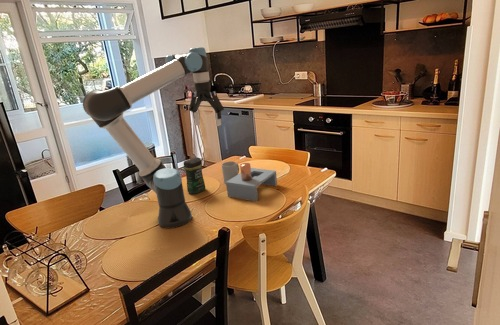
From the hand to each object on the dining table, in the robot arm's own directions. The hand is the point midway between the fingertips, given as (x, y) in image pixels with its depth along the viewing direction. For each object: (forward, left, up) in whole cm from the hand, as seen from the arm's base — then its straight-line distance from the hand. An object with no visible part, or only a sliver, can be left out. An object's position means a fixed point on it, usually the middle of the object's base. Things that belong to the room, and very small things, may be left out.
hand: (208, 125), depth 167 cm
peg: (+4, -16, -36) cm, 40 cm away
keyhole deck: (+9, -17, -37) cm, 41 cm away
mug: (+17, +2, -37) cm, 41 cm away
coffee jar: (-2, +13, -37) cm, 39 cm away
